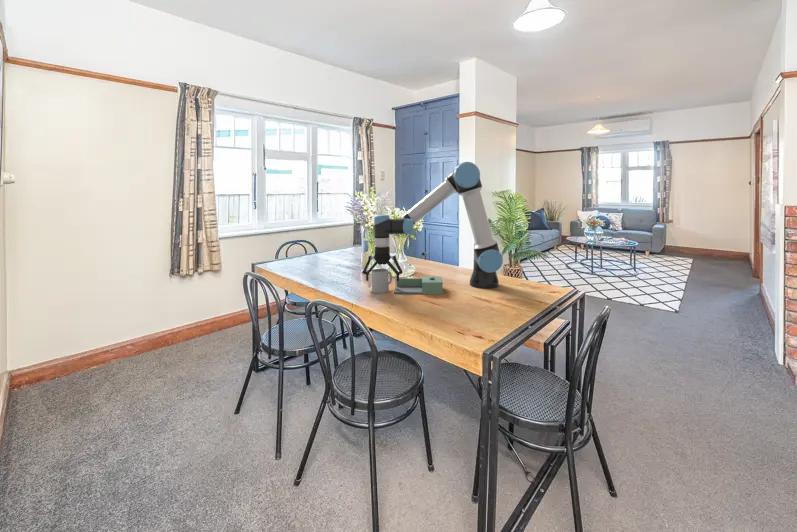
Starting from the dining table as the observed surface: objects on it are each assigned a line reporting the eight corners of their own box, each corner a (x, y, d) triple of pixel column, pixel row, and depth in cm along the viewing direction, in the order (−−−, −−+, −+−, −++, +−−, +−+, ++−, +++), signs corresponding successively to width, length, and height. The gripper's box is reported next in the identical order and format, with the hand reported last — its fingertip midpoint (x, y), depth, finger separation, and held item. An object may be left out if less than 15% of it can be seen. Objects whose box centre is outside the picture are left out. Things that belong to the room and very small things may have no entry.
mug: (379, 294, 193) (379, 272, 191) (368, 291, 199) (368, 270, 197) (397, 290, 201) (396, 269, 199) (386, 287, 207) (385, 266, 205)
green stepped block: (441, 287, 204) (441, 274, 203) (442, 294, 192) (442, 280, 190) (395, 287, 206) (395, 274, 205) (393, 294, 193) (393, 280, 192)
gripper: (407, 244, 198) (407, 285, 202) (358, 244, 200) (359, 285, 204) (406, 247, 191) (406, 289, 195) (356, 247, 192) (357, 288, 197)
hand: (382, 287), depth 199 cm, fingers open, 13 cm apart
